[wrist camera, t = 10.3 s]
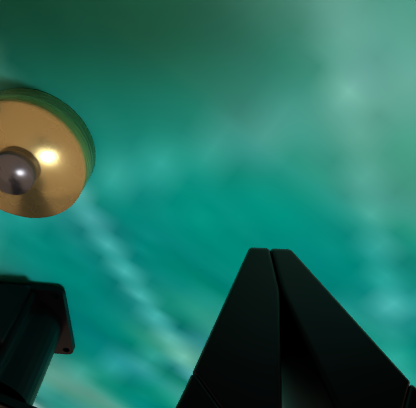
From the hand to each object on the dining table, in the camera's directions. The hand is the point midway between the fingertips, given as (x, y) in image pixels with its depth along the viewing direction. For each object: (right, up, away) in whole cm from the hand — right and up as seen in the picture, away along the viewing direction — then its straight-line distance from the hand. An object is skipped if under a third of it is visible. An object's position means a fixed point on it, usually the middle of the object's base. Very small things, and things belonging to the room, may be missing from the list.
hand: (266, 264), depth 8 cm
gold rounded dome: (-10, +4, +12) cm, 16 cm away
